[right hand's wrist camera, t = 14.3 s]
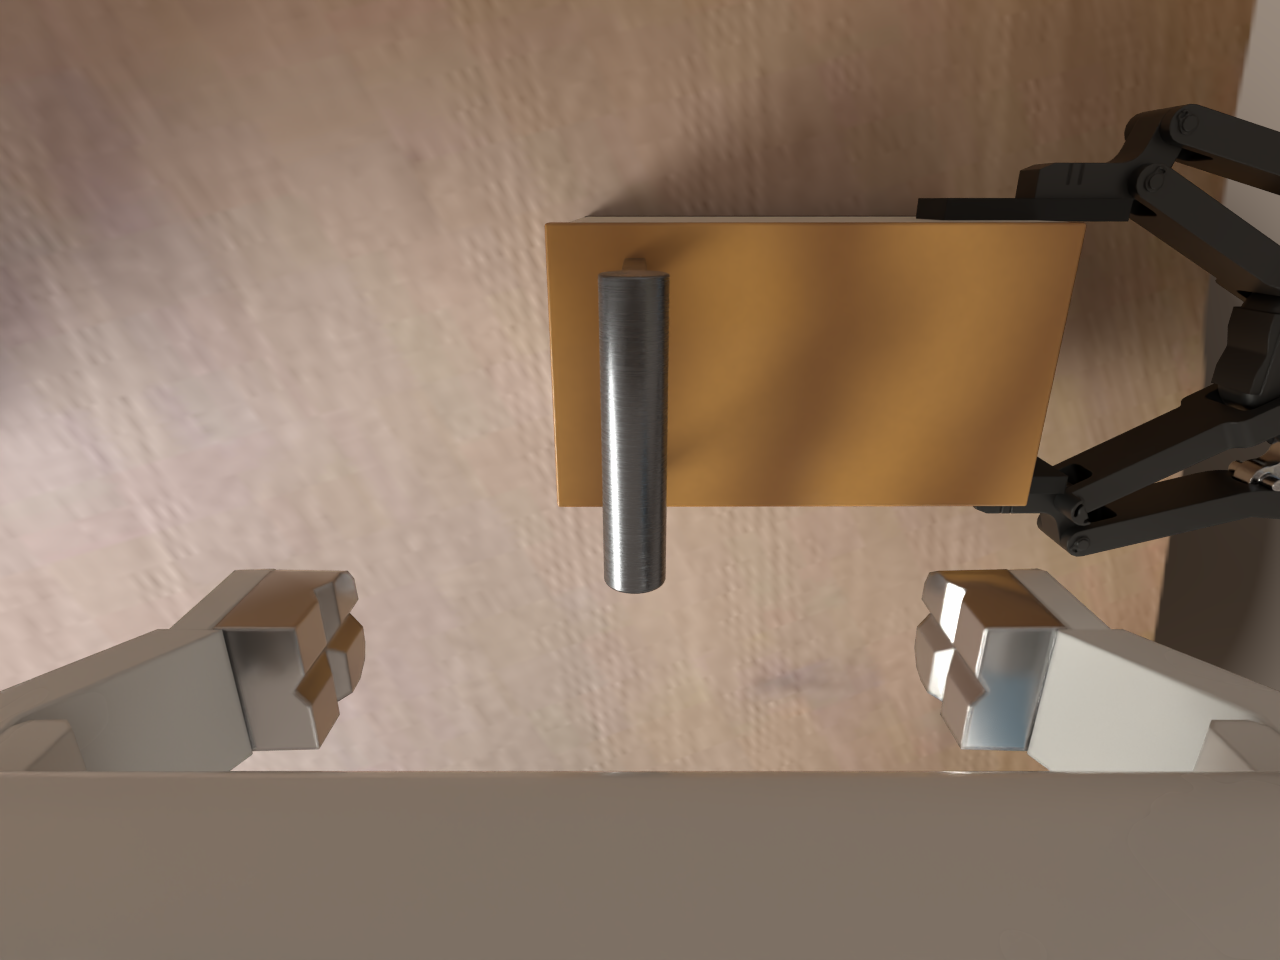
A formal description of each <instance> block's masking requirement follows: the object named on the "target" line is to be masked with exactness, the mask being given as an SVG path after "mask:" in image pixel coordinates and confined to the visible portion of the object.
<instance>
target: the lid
mask: <svg viewBox="0 0 1280 960" xmlns="http://www.w3.org/2000/svg"><path fill="white" fill-rule="evenodd" d="M1085 231H1086V224H1085V223H1080V222H550V223H546V224H545V245H546V266H547V288H548V310H549V331H550V353H551V374H552V396H553V417H554V439H555V460H556V482H557V504H558V506H559V507H603V543H604V579H605V582H606V584H607V585H608V586H609V587H610V588H612V589H614V590H616V591H619V592H623V593H631V594H638V593H646V592H650V591H653V590H655V589H657V588H659V587H660V586H661V585H662V584H663V583H664V581H665V576H666V506H1026V505H1027V501H1028V496H1029V491H1030V487H1031V482H1032V477H1033V473H1034V468H1035V463H1036V459H1037V454H1038V449H1039V445H1040V440H1041V435H1042V431H1043V426H1044V421H1045V417H1046V412H1047V407H1048V403H1049V398H1050V393H1051V389H1052V384H1053V380H1054V375H1055V370H1056V366H1057V361H1058V356H1059V352H1060V347H1061V342H1062V338H1063V333H1064V328H1065V324H1066V319H1067V314H1068V310H1069V305H1070V300H1071V296H1072V291H1073V286H1074V282H1075V277H1076V272H1077V268H1078V263H1079V258H1080V254H1081V249H1082V244H1083V240H1084V235H1085Z"/></svg>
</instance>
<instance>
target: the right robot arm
mask: <svg viewBox="0 0 1280 960" xmlns="http://www.w3.org/2000/svg"><path fill="white" fill-rule="evenodd" d="M357 601H358V595H357V590H356V585H355V580H354V578H353V577H352V575H351V574H350V573H349V572H348V571H328V570H276V569H249V570H235V571H234V572H233V573H231V574H230V575H229V576H228V577H227V578H226V579H225V580H224V581H222V582H221V583H220V584H219V585H218V586H217V587H216V588H215V589H214V590H212V591H211V592H210V593H209V594H208V595H207V596H206V597H205V598H203V599H202V600H201V601H200V602H199V603H198V604H197V605H196V606H195V607H193V608H192V609H191V610H190V611H189V612H188V613H187V614H186V615H184V616H183V617H182V618H181V619H180V620H179V621H178V622H177V623H176V624H174V625H173V626H172V627H171V628H170V629H157V630H154V631H152V632H149V633H147V634H144V635H142V636H139V637H137V638H134V639H131V640H129V641H126V642H124V643H121V644H119V645H116V646H114V647H111V648H109V649H106V650H104V651H101V652H99V653H96V654H93V655H91V656H88V657H86V658H83V659H81V660H78V661H76V662H73V663H71V664H68V665H66V666H63V667H60V668H58V669H55V670H53V671H50V672H48V673H45V674H43V675H40V676H38V677H35V678H33V679H30V680H28V681H25V682H22V683H20V684H17V685H15V686H12V687H10V688H7V689H5V690H2V691H0V960H1280V691H1277V690H1275V689H1272V688H1270V687H1267V686H1265V685H1262V684H1260V683H1257V682H1255V681H1252V680H1250V679H1247V678H1245V677H1242V676H1239V675H1237V674H1234V673H1232V672H1229V671H1227V670H1224V669H1222V668H1219V667H1217V666H1214V665H1212V664H1209V663H1207V662H1204V661H1202V660H1199V659H1196V658H1194V657H1191V656H1189V655H1186V654H1184V653H1181V652H1179V651H1176V650H1174V649H1171V648H1169V647H1166V646H1164V645H1161V644H1159V643H1156V642H1154V641H1151V640H1148V639H1146V638H1143V637H1141V636H1138V635H1136V634H1133V633H1131V632H1128V631H1126V630H1123V629H1110V628H1109V627H1108V626H1107V625H1106V624H1105V623H1103V622H1102V621H1101V620H1100V619H1099V618H1098V617H1097V616H1096V615H1095V614H1093V613H1092V612H1091V611H1090V610H1089V609H1088V608H1087V607H1086V606H1085V605H1083V604H1082V603H1081V602H1080V601H1079V600H1078V599H1077V598H1076V597H1074V596H1073V595H1072V594H1071V593H1070V592H1069V591H1068V590H1067V589H1066V588H1064V587H1063V586H1062V585H1061V584H1060V583H1059V582H1058V581H1057V580H1056V579H1054V578H1053V577H1052V576H1051V575H1050V574H1049V573H1048V572H1047V571H1044V570H1040V569H1017V570H1007V569H999V570H957V571H935V572H930V573H929V575H928V577H927V579H926V581H925V583H924V589H923V595H922V601H923V602H924V604H925V605H926V607H927V608H928V610H929V611H930V614H929V615H928V616H927V617H926V618H925V619H924V620H923V621H922V622H921V623H920V624H919V625H918V626H917V632H916V639H915V658H916V667H917V670H918V674H919V677H920V680H921V682H922V684H923V685H924V687H925V689H926V691H927V693H929V694H931V695H932V696H934V697H936V698H937V699H939V700H940V701H942V708H941V713H940V715H941V716H942V718H943V720H944V721H945V723H946V725H947V727H948V728H949V730H950V732H951V733H952V735H953V737H954V738H955V740H956V742H957V743H958V745H959V747H960V748H961V749H972V750H1009V751H1028V752H1027V754H1028V755H1029V756H1031V757H1032V758H1033V759H1035V760H1036V761H1038V762H1039V763H1040V764H1042V765H1043V766H1044V767H1046V768H1047V769H1048V770H1050V771H230V770H232V769H233V768H235V767H236V766H237V765H239V764H240V763H241V762H243V761H244V760H245V759H247V758H248V757H249V756H251V755H252V754H253V752H252V751H270V750H306V749H319V748H320V747H321V745H322V743H323V742H324V740H325V738H326V737H327V735H328V733H329V732H330V730H331V728H332V727H333V725H334V723H335V722H336V720H337V718H338V716H339V715H340V713H339V707H338V701H340V700H341V699H343V698H344V697H346V696H348V695H349V694H351V693H353V691H354V689H355V687H356V685H357V683H358V682H359V680H360V678H361V673H362V669H363V665H364V661H365V637H364V631H363V626H362V625H361V624H360V623H359V622H358V621H357V620H356V619H355V618H354V617H353V616H352V615H351V614H350V612H351V610H352V608H353V607H354V605H355V604H356V602H357Z"/></svg>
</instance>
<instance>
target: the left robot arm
mask: <svg viewBox="0 0 1280 960" xmlns="http://www.w3.org/2000/svg"><path fill="white" fill-rule="evenodd" d="M1124 135H1125V140H1126V142H1125V143H1124V145H1123V147H1122V149H1121V150H1120V152H1119V153H1118V155H1117V156H1116V157H1115V158H1114V159H1112V160H1111V161H1109V162H1107V163H1048V164H1037V165H1033V166H1030V167H1028V168H1025V169H1023V170H1020V174H1019V180H1018V185H1017V191H1016V196H1015V198H919V199H918V206H917V214H916V219H929V220H1039V221H1128V220H1129V218H1130V219H1132V220H1133V221H1134V222H1136V223H1137V224H1139V225H1140V226H1142V227H1143V228H1145V229H1146V230H1148V231H1149V232H1151V233H1152V234H1153V235H1155V236H1156V237H1158V238H1159V239H1161V240H1162V241H1164V242H1165V243H1167V244H1168V245H1169V246H1171V247H1172V248H1174V249H1175V250H1177V251H1178V252H1180V253H1181V254H1183V255H1184V256H1186V257H1187V258H1188V259H1190V260H1191V261H1193V262H1194V263H1196V264H1197V265H1199V266H1200V267H1202V268H1203V269H1204V270H1206V271H1207V272H1209V273H1210V274H1212V275H1213V276H1215V277H1216V278H1217V279H1216V283H1218V284H1219V285H1220V286H1222V287H1223V288H1225V289H1226V290H1228V291H1229V292H1230V293H1232V294H1233V295H1235V296H1236V297H1238V298H1239V299H1241V300H1242V301H1244V303H1243V304H1242V306H1241V307H1233V311H1232V314H1231V317H1230V321H1229V324H1228V340H1227V347H1226V349H1225V350H1224V352H1223V354H1222V356H1221V357H1220V359H1219V361H1218V363H1217V365H1216V368H1215V371H1214V374H1213V378H1212V381H1211V383H1214V384H1212V385H1210V386H1208V387H1206V388H1204V389H1202V390H1199V391H1197V392H1195V393H1193V394H1191V395H1189V396H1187V397H1185V398H1183V399H1182V400H1181V406H1180V407H1178V408H1176V409H1174V410H1172V411H1170V412H1168V413H1165V414H1163V415H1161V416H1159V417H1157V418H1155V419H1153V420H1150V421H1148V422H1146V423H1144V424H1142V425H1140V426H1138V427H1135V428H1133V429H1131V430H1129V431H1127V432H1125V433H1123V434H1121V435H1118V436H1116V437H1114V438H1112V439H1110V440H1108V441H1106V442H1103V443H1101V444H1099V445H1097V446H1095V447H1093V448H1091V449H1088V450H1086V451H1084V452H1082V453H1080V454H1078V455H1076V456H1074V457H1071V458H1069V459H1067V460H1065V461H1063V462H1061V463H1059V464H1056V465H1054V466H1051V465H1050V464H1048V463H1046V462H1045V461H1043V460H1042V459H1040V458H1039V457H1037V459H1036V463H1035V468H1034V473H1033V477H1032V482H1031V487H1030V491H1029V496H1028V501H1027V505H1026V506H973V507H974V508H975V509H977V510H980V511H982V512H985V513H1040V515H1039V517H1038V519H1037V525H1038V528H1039V529H1040V530H1042V531H1043V532H1044V533H1045V534H1046V535H1047V536H1049V537H1050V538H1051V539H1052V540H1054V541H1055V542H1056V543H1057V544H1059V545H1060V546H1061V547H1062V548H1064V549H1065V550H1066V551H1067V552H1069V553H1070V554H1071V555H1073V556H1085V555H1089V554H1093V553H1098V552H1102V551H1106V550H1111V549H1115V548H1119V547H1124V546H1128V545H1132V544H1137V543H1141V542H1145V541H1150V540H1154V539H1158V538H1162V537H1167V536H1171V535H1175V534H1180V533H1184V532H1188V531H1193V530H1197V529H1201V528H1206V527H1210V526H1214V525H1219V524H1223V523H1227V522H1231V521H1236V520H1240V519H1244V518H1249V517H1260V518H1273V519H1280V246H1279V245H1278V244H1277V243H1275V242H1274V241H1272V240H1271V239H1270V238H1268V237H1267V236H1265V235H1264V234H1263V233H1261V232H1260V231H1258V230H1257V229H1256V228H1254V227H1253V226H1251V225H1250V224H1249V223H1247V222H1246V221H1244V220H1243V219H1242V218H1240V217H1239V216H1237V215H1236V214H1235V213H1233V212H1232V211H1230V210H1229V209H1228V208H1226V207H1225V206H1223V205H1222V204H1221V203H1219V202H1218V201H1216V200H1215V199H1214V198H1212V197H1211V196H1209V195H1208V194H1207V193H1205V192H1204V191H1202V190H1201V189H1200V188H1198V187H1197V186H1195V185H1194V184H1193V183H1191V182H1190V181H1188V180H1187V179H1186V178H1184V177H1183V176H1181V175H1180V174H1179V173H1177V172H1176V171H1174V170H1173V169H1172V168H1171V167H1172V165H1173V163H1174V162H1175V161H1176V162H1179V163H1182V164H1185V165H1188V166H1191V167H1194V168H1197V169H1200V170H1203V171H1206V172H1210V173H1213V174H1216V175H1219V176H1222V177H1225V178H1228V179H1231V180H1234V181H1238V182H1240V183H1244V184H1247V185H1250V186H1253V187H1256V188H1259V189H1262V190H1265V191H1269V192H1271V193H1274V194H1278V195H1280V132H1278V131H1275V130H1272V129H1269V128H1266V127H1263V126H1260V125H1257V124H1254V123H1251V122H1248V121H1245V120H1242V119H1239V118H1236V117H1233V116H1230V115H1227V114H1224V113H1221V112H1218V111H1215V110H1212V109H1209V108H1206V107H1203V106H1200V105H1197V104H1187V105H1182V106H1176V107H1170V108H1165V109H1159V110H1153V111H1147V112H1142V113H1139V114H1137V115H1135V116H1134V117H1133V118H1131V119H1130V121H1129V122H1128V124H1127V125H1126V128H1125V132H1124ZM1265 441H1267V442H1268V443H1269V444H1271V447H1270V448H1269V450H1268V451H1267V452H1266V453H1265V454H1264V455H1263V456H1261V457H1259V458H1256V459H1250V460H1247V461H1244V462H1242V461H1239V460H1236V461H1233V462H1232V463H1231V464H1230V465H1229V470H1213V471H1205V472H1200V473H1195V474H1191V475H1187V476H1182V477H1178V478H1174V479H1170V480H1166V481H1161V482H1157V481H1159V480H1161V479H1164V478H1166V477H1168V476H1170V475H1173V474H1175V473H1177V472H1179V471H1181V470H1184V469H1186V468H1188V467H1190V466H1192V465H1195V464H1197V463H1199V462H1201V461H1203V460H1206V459H1208V458H1210V457H1212V456H1214V455H1217V454H1219V453H1221V452H1223V451H1225V450H1228V449H1231V448H1247V447H1252V446H1255V445H1258V444H1260V443H1262V442H1265ZM1155 482H1157V483H1155Z"/></svg>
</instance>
